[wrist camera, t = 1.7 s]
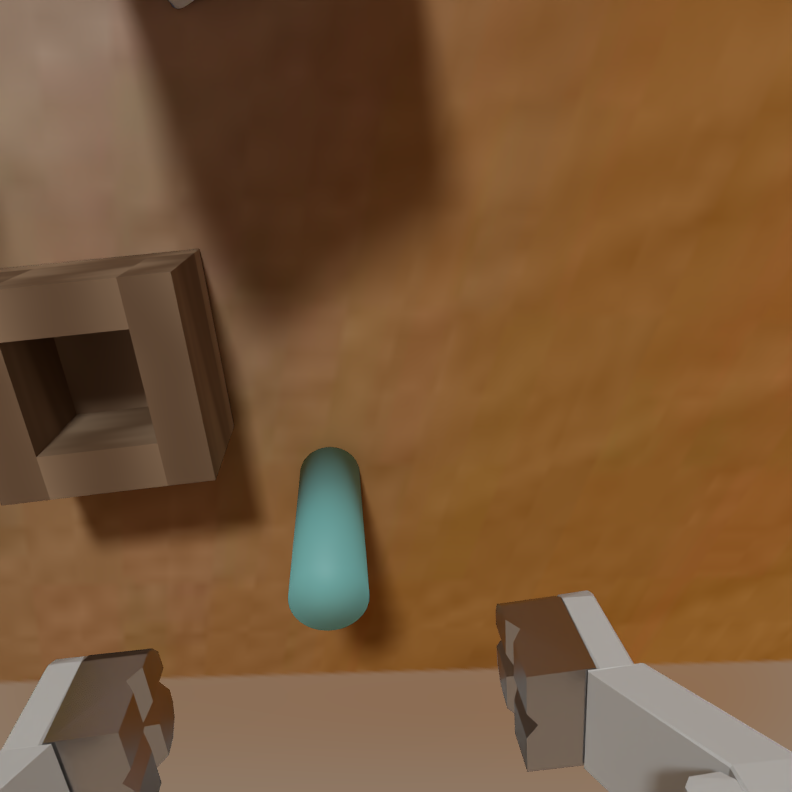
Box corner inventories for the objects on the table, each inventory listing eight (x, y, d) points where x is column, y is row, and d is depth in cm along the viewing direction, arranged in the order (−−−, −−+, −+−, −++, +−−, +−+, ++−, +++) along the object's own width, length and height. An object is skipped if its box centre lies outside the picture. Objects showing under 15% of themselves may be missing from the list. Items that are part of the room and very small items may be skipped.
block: (199, 249, 26) (170, 271, 22) (234, 426, 29) (215, 480, 25) (-2, 268, 26) (-75, 296, 21) (54, 446, 29) (1, 505, 24)
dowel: (356, 443, 30) (365, 559, 22) (362, 495, 31) (373, 624, 23) (296, 450, 30) (282, 570, 22) (304, 502, 31) (294, 635, 23)
